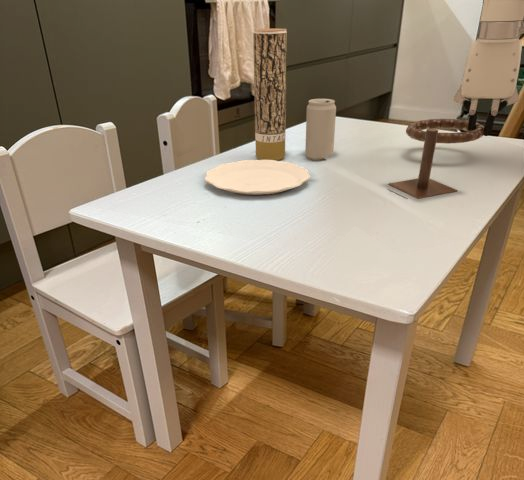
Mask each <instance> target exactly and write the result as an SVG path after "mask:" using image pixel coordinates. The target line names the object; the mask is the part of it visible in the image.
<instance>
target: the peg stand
mask: <svg viewBox="0 0 524 480" xmlns="http://www.w3.org/2000/svg"><path fill="white" fill-rule="evenodd" d="M425 131H426V136H425V142H424V143H423V149H422V154H421V160H420V166H419V172H418V178H412V179H407V180H401V181H395V182H389V183H388V186H390V187H392V188H395V189H396V190H398V191H400V192H402V193H405V194H407V195H409V196H411V197H413V198H415V199H417V200H421V199H422V200H423V199H426V198H431V197H436V196H442V195H447V194H452V193H457V192H458V191H459V190H458V189H456V188H453V187H451V186H448V185H446V184H443V183H442V182H439V181H436V180H434V179H431V173H432V172H431V171H432V167H433V162H434V156H435V150H436V145H437V143H436V140H437V135H438V133H439V129H438V128H436V129H425ZM387 190H388V191H390V192H392V193H394V194H396V195H398V196H399V197H402V198H403V199H406V200H408V199H409V198H408V197H405V196H403V195H402V194H399V193H397V192H395V191H393V190H391V189H389V188H388V189H387Z"/></svg>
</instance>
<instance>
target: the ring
mask: <svg viewBox="0 0 524 480" xmlns="http://www.w3.org/2000/svg"><path fill="white" fill-rule="evenodd" d="M468 122H469V119H468V120H467V119H458V118H430V119H429V118H428V119H423V120H416V121H414V122H412V123H411V122H410V124H408V126H407V127H406V129H405V134H406V135H407V136H408V137H409V138H410V139H412V140H416V141H419V142H422V143H423V142H425V136H426V130H427V129H448V130H449V129H450V130H451V129H453V130H461V132H460V131H458V132H438V135H437V140H436V144H447V145H449V144H463V143H468V142H469V143H470V142H474V141H477V140H480V139H481V138H482V137H484V136H485V135H484V128H485V125H482V124H480V123H479V122H477V121H476V125H475V130H473V131H468V130H467V128H468Z"/></svg>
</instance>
